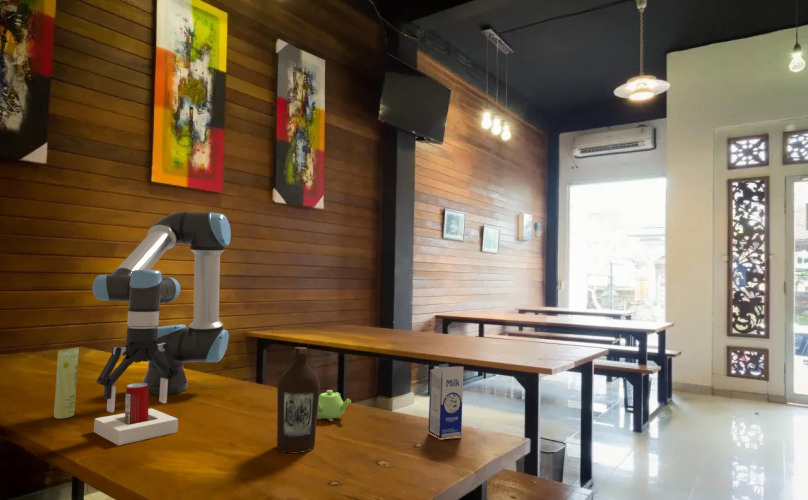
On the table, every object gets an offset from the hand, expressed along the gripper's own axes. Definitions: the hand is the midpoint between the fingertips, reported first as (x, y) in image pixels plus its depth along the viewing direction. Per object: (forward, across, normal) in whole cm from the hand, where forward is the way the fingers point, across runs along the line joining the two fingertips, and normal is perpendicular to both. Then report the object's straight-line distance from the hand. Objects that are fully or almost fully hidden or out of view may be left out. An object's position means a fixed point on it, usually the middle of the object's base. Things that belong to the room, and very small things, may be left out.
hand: (137, 406), depth 135 cm
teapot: (+7, -45, +26) cm, 52 cm away
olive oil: (+7, -22, +39) cm, 45 cm away
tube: (+7, +8, -28) cm, 30 cm away
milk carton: (+7, -57, +61) cm, 84 cm away
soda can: (+6, 0, 0) cm, 6 cm away
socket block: (+7, 0, 0) cm, 7 cm away
